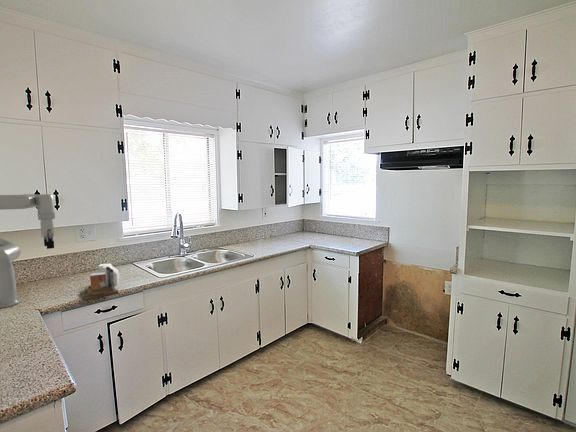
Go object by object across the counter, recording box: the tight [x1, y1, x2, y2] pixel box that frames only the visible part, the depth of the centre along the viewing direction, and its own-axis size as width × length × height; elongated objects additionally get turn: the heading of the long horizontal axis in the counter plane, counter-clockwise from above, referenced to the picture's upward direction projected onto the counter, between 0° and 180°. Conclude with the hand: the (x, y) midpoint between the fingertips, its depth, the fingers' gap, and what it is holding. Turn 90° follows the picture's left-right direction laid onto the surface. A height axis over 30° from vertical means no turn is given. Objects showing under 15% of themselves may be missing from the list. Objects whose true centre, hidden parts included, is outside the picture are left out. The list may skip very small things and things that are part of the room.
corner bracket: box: [98, 263, 120, 286], centre depth 210 cm, size 11×11×12 cm
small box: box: [89, 272, 107, 290], centre depth 191 cm, size 8×6×10 cm
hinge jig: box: [79, 267, 119, 301], centre depth 190 cm, size 15×17×14 cm
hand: (49, 247), depth 178 cm, fingers open, 9 cm apart
